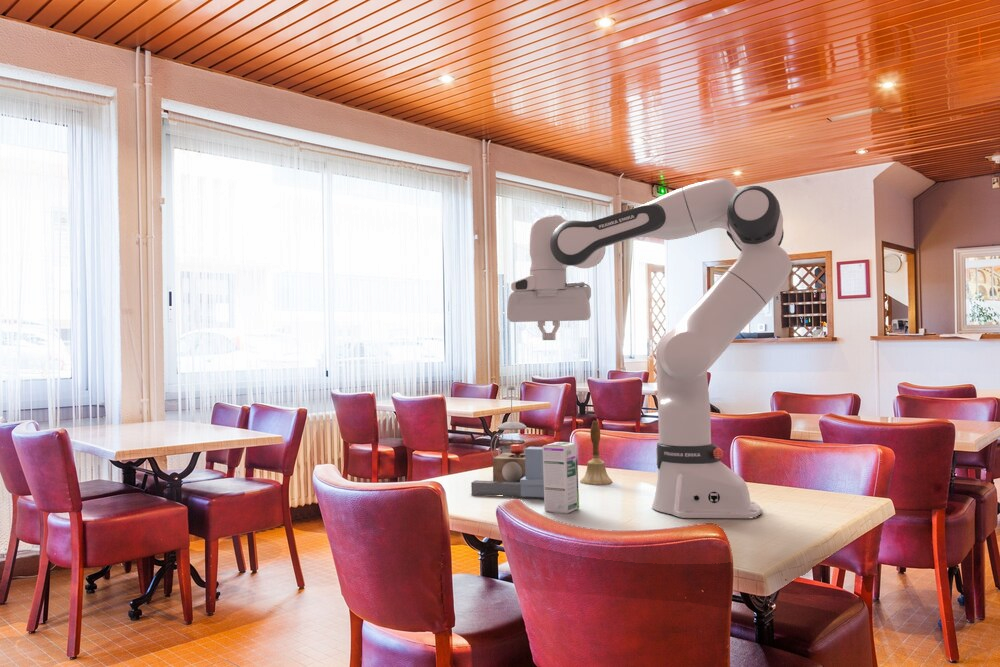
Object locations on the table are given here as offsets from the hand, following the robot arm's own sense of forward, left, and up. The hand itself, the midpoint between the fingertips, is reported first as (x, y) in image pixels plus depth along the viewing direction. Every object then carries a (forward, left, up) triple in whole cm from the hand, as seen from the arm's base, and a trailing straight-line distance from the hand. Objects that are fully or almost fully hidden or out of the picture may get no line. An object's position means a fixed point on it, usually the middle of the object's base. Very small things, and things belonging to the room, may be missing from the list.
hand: (549, 340), depth 182 cm
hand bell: (-8, -18, -37) cm, 42 cm away
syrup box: (-6, +17, -37) cm, 41 cm away
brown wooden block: (+10, -6, -37) cm, 39 cm away
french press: (+16, -20, -37) cm, 45 cm away
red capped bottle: (+10, -6, -34) cm, 36 cm away
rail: (+8, +4, -37) cm, 38 cm away
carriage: (+3, +4, -37) cm, 37 cm away
